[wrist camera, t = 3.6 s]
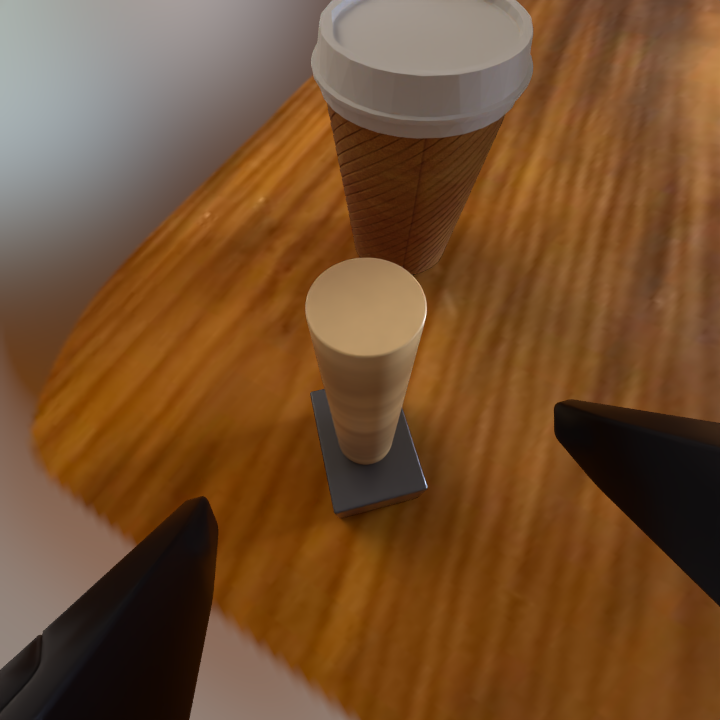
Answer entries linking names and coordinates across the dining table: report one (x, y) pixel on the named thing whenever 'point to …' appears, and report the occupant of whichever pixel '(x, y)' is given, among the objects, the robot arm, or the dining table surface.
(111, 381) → the dining table surface
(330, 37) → the disposable coffee cup
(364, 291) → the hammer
